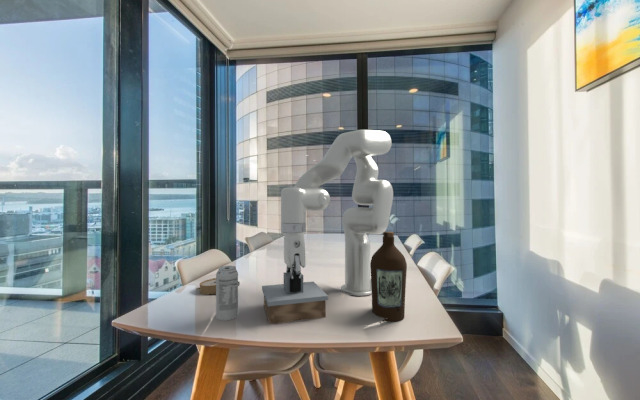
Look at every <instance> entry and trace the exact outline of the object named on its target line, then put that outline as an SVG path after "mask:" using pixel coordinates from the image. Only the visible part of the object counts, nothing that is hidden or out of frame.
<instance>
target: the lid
mask: <svg viewBox="0 0 640 400" xmlns="http://www.w3.org/2000/svg"><path fill="white" fill-rule="evenodd" d="M290 278H291V272H286V271H285V272H283V283H281V284H280V283H279V284H268V285H261V290H262V293H263V298H264V297H265V300H266V302H267V305H268V306H276V305H286V304H295V303H305V302H314V301H323V300H326V301H328V300H329V296H328V294H327V293H326V292H325V291H324V290H323V289H322V288H321V287H320V286H319V285H318V284H317V283H316V282H315V281H304V275H303V273H301V291H300V292H290Z"/></svg>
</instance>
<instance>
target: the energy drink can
mask: <svg viewBox="0 0 640 400" xmlns="http://www.w3.org/2000/svg"><path fill="white" fill-rule="evenodd" d="M215 278H216V294H215V318H216V320H219V321H231V320H234V319H236V318H237V317H238V316H239V286H238V281H239V271H238V270H237V267H236V265H222V266H219V267H218V270H217V272H216V274H215Z"/></svg>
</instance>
